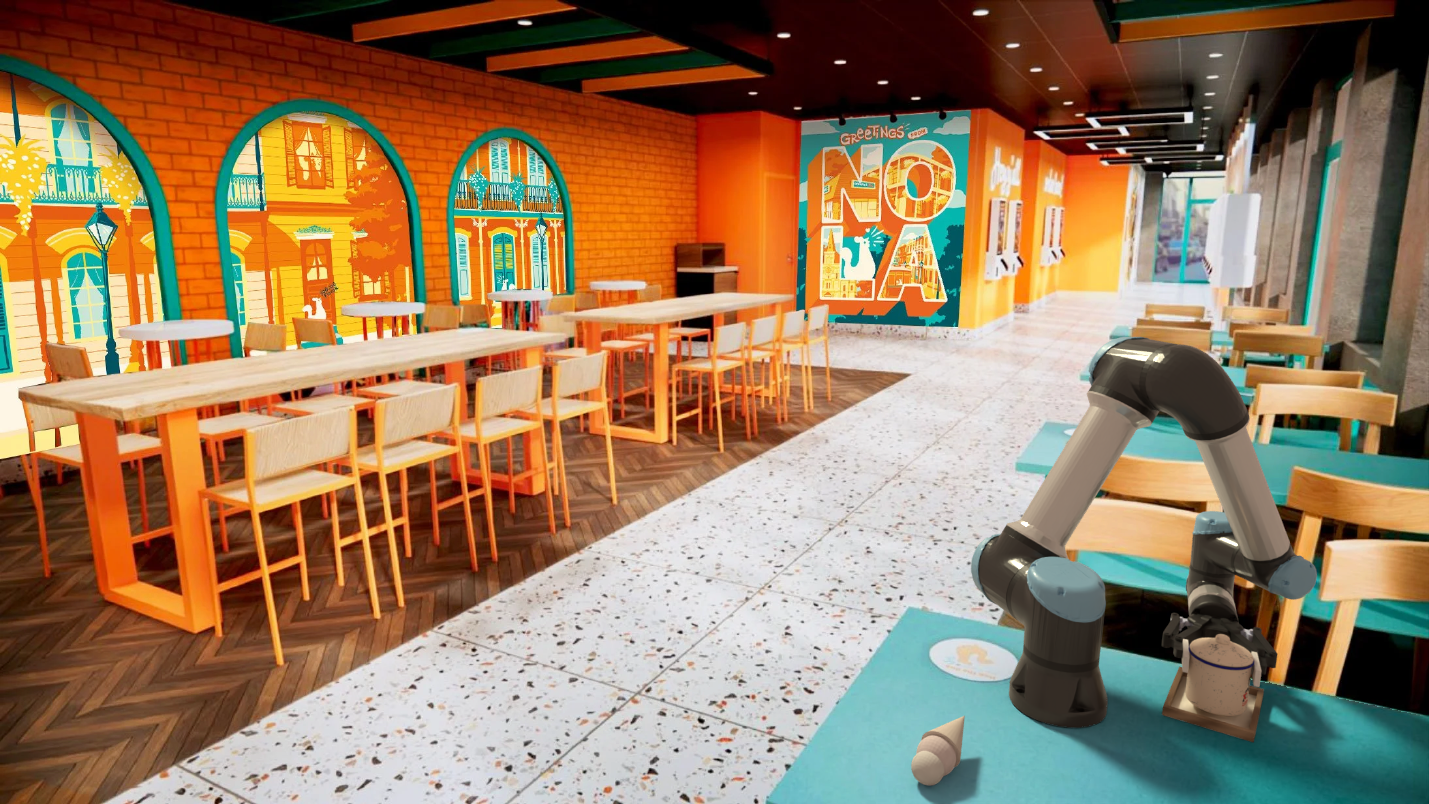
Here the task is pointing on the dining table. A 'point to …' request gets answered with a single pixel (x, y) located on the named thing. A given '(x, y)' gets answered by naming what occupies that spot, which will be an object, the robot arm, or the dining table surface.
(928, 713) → the dining table surface
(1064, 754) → the dining table surface
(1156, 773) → the dining table surface
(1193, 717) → the walnut tray
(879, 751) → the dining table surface
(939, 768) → the ice cream cone
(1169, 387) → the robot arm
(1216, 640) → the teacup with lid
